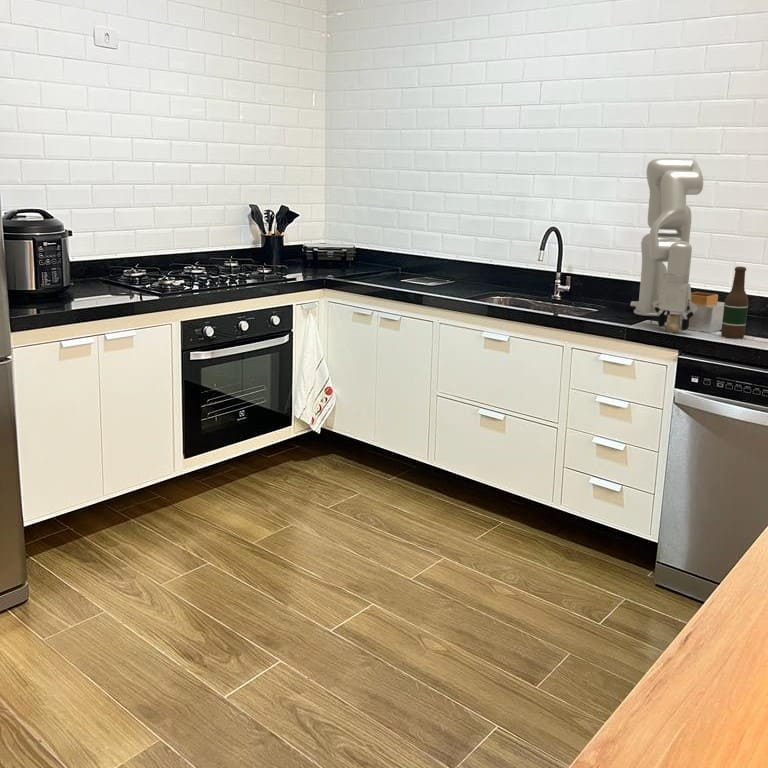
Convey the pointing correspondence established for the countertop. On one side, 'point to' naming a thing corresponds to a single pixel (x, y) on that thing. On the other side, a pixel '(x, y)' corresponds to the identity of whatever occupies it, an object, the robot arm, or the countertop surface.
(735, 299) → the beer bottle
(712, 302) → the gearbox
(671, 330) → the bead
